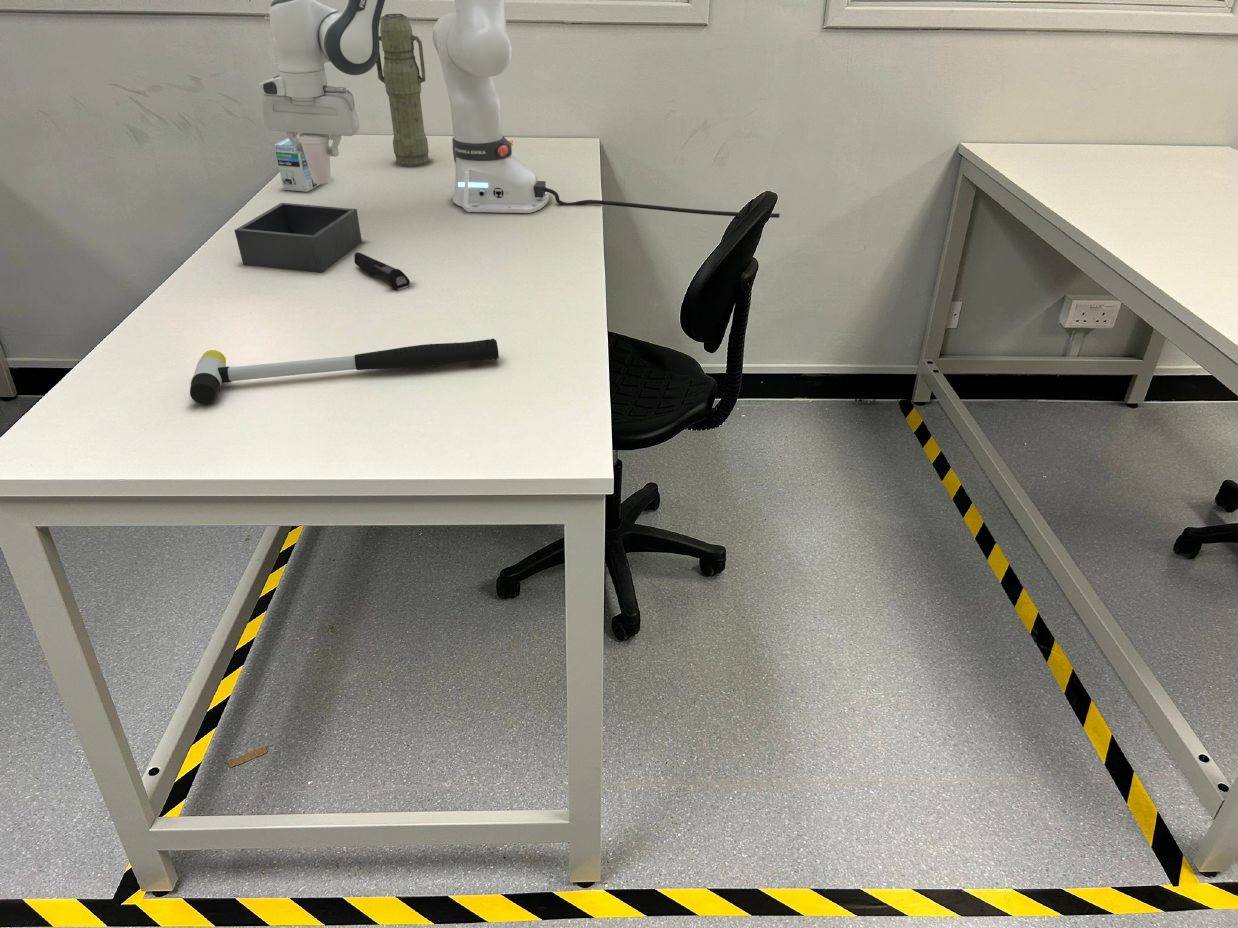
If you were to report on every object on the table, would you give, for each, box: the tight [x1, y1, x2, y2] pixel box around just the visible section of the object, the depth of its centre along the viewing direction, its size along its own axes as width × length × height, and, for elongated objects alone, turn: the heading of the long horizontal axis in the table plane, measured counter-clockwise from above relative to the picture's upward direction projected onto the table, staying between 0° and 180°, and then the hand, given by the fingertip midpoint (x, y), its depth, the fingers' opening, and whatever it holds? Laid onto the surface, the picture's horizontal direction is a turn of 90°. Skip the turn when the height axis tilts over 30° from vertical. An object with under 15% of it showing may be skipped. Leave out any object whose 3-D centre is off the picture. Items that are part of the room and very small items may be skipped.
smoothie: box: [298, 133, 332, 185], centre depth 181 cm, size 6×6×14 cm
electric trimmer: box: [353, 251, 411, 291], centre depth 163 cm, size 4×16×3 cm, turn 45°
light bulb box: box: [273, 133, 321, 193], centre depth 208 cm, size 11×7×11 cm, turn 168°
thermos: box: [375, 13, 430, 168], centre depth 218 cm, size 9×12×35 cm
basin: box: [234, 202, 363, 274], centre depth 172 cm, size 17×17×7 cm
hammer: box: [189, 338, 500, 405], centre depth 132 cm, size 45×11×4 cm, turn 103°
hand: (317, 154), depth 182 cm, fingers closed on smoothie, 6 cm apart
